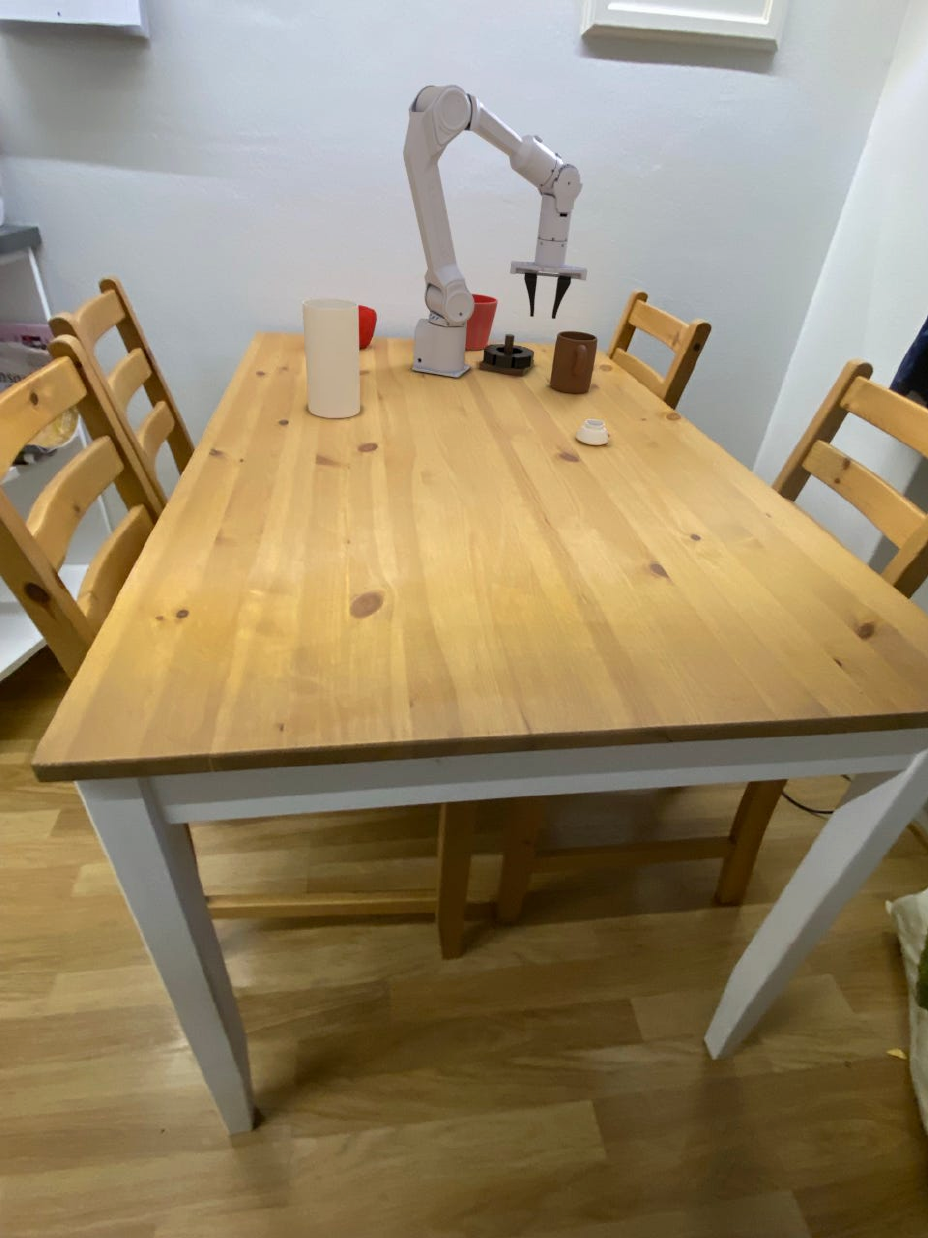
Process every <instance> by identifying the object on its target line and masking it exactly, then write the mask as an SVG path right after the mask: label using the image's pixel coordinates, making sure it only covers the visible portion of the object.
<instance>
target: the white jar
mask: <svg viewBox="0 0 928 1238" xmlns="http://www.w3.org/2000/svg"><path fill="white" fill-rule="evenodd" d="M605 426H606V424H605V422H604V421H602V420H599V419H595V418H593V419H586V420H585V421H584V423H583V424H582V425H581V426H580V428H579V429H578V431H577V432H576V433H575V439H577V440H578V441H579V442H581V443H583V444H586V445H590V446H600V445H604V444H607V443H608V442H609V440H610V439H609V434H608V431H607V430H608V429H607V427H605Z"/></svg>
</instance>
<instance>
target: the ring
mask: <svg viewBox="0 0 928 1238" xmlns="http://www.w3.org/2000/svg"><path fill="white" fill-rule="evenodd" d="M504 345H505V343H497V344H496V343H495V344H490V345H488V344H487V346H486V348H484V349H483V356H482V357H483V358H482V361H483V360H484V362H486V363H488V364H490V365H492V366H494V365H495V367H502V368H509V369H511V368H514V369H519V368H528V367H530V366H531V365H532V364H533V360H535V359H534V358H535V351H534V350H532V349H530V348H528V347H526V346H522V345H518V344H517V345H515V344H514V346H513V354H506V353H504Z"/></svg>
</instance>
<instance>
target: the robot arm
mask: <svg viewBox="0 0 928 1238" xmlns="http://www.w3.org/2000/svg"><path fill="white" fill-rule="evenodd" d="M408 116H409V118H408V124H407V129H406V134H405V140H404V145H403V149H402V155H403V161H404V166H405V171H406V176H407V180H408V185H409V189H410V193H411V198H412V202H413V203H412V204H413V207H414V212H415V217H416V221H417V226H418V231H419V236H420V240H421V244H422V249H423V253H424V257H425V263H426V267H427V270H426V272H425V274H424V282H425V290H424V296H423V297H424V298H423V299H424V304H425V307H426V308H427V309H428V311H429V314H428V318H419V319H418V321H417V323H416V325H415V329H414V335H413V337H414V338H413V366H412V367H411V370H412V371H416V372H419V373H420V372H421V373H425V374H426V373H428V374H433V375H439V376H443V377H444V376H445V377H449V378H456V379H457V378H460V377H461V376H463V374H465V373H466V372H467V371H468V370H470V369H471V365H469V364H465V358H466V357H465V356H466V355H465V354H466V349H465V343H466V328H467V321H468V320H469V318H470V317H471V315H472V313H473V310H474V299H473V296H472V294H473V293H472V292H470V290H469V289H468V287H467V284H466V279H465V276H464V275H463V273H462V270H461V269H460V267H459V265H458V263H457V262H458V261H457V258H456V252H455V247H454V242H453V236H452V231H451V226H450V221H449V215H448V211H447V210H448V209H447V205H446V200H445V196H444V195H445V194H444V189H443V184H442V179H441V175H440V170H439V160H440V158H441V157H442V155H443V153H444V151H445V150H446V148H447V146H448V145H449V144H450V143H451V142H453V140H455V139H456V138H457V137H458V136H459V135H461V134H462V132H463V131H466V132H473V133H475V134H476V135H477V136H479V137H480V138H481V139H483V140H484V141H486V142H487V143H489V144H490V145H491V146H493V147H495V148H496V149H497V150H499V151H501V152H502V153H503V154H505V155H507V156H508V157H509V165H510V168H511V169H512V170H513V171H514V172H515V173H517V174H518V175H519V176H520V177H522V178H523V179H525V180H526V181H527V182H529V183H530V184H532V185H533V186H534V187H535V188H537V191H538V193H539V195H540V196H541V203H540V211H539V219H538V229H537V237H536V244H535V245H536V247H535V254H534V261H516V260H511V262H510V271H509V273H510V274H512V275H516V274H518V275H523V276H524V278H523V280H524V284H525V287H526V291H527V294H528V295H527V296H528V302H529V317H532V318H534V317H535V302H536V291H537V283H538V277H549V278H557V280H556V288H555V295H554V301H553V306H552V310H551V319H552V320H556V318H557V313H558V310H559V308H560V306H561V302H562V300H563V298H564V297H565V294H567V293H566V292H567V291H568V289H569V287H570V286H571V284H572V280H580V281H585V282H586V281H587V275H588V268H587V267H582V266H581V267H580V266H575V265H574V266H573V265H567V264H565V262H566V256H567V248H568V243H569V242H568V241H569V234H570V227H571V220H572V213H573V210H574V208H575V207H574V206H575V201H576V200H577V198H578V197H579V195H580V193H581V191H582V189H583V183H582V182H581V175H580V173H579V169H578V168H577V167H576V166H575V165H574V164H571V163H564V162H563V160H562V157H563V156H562V154H561V153H559V152H553V151H552V150H550V149H549V148H548V147H547V146H546V145H544V144H543V141H544V139H543V138H542V137H541V136H540V135H537V134H533V135H531V134H526V135H523V136H519V134H518V133H516V132H515V131H514V130H513V129H512V128H511V127H509V126H508V125H507V124H506V123H505V122H504V121H503V120H502V119H500V118H499V116H497V115H496V114H495V113H493V111H492V110H490V109H489V108H488V107H487V106H485V104H484V103H482V102H481V101H480V100H479V99H478V98H477V97H476V96H474V95H473V94H470V93H469V92H468V93H467V92H466V91H465V90H464V89H463V88H462V87H460V86H459V85H458V84H448V85H439V86H438V85H437V86H436V85H433V84H432V85H425V86H424V87H422V88H421V89H420V90H419V91H418V92H417V94H416V95H415V97H414V98H413V100H412V102H411V104H410V105H409V107H408Z"/></svg>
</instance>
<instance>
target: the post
mask: <svg viewBox="0 0 928 1238" xmlns="http://www.w3.org/2000/svg"><path fill="white" fill-rule="evenodd" d="M504 337H505V338H504V353H506V354H513V346H514V345H515V344H514V343H515V337H516V335H514V334H510V333H507V334H505V335H504ZM534 365H535V359H533V364H532V365H531V366H530V367H528V368H519V369H514V368H511V369H509V368H502V367H495V365H494V366H492V365H490V364H488V363H486V362H484V360H483V359H482V361H480V362H479V365H478V370H481V371H487V372H492V373H498V374H504V375H505V374H506V375H512V376H518V377H524V376H525V375H526V374H527V373H528V372H529V370H531V368H533V367H534Z"/></svg>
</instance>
